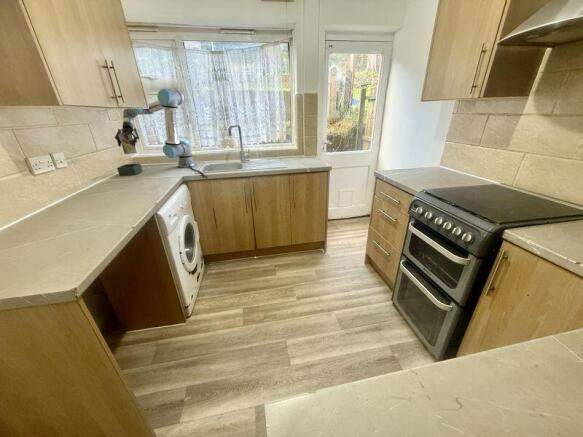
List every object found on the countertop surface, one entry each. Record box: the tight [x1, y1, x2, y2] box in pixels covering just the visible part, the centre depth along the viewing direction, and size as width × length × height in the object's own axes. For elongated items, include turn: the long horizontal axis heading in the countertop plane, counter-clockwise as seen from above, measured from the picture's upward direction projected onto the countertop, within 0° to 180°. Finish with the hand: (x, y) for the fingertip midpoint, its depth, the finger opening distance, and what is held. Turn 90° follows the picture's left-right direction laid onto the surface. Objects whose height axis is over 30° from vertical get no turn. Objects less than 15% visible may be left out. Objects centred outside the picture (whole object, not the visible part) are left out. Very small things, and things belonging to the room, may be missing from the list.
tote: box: [116, 163, 143, 177], centre depth 209 cm, size 15×13×7 cm
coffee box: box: [118, 133, 138, 155], centre depth 204 cm, size 9×6×16 cm
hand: (126, 145), depth 202 cm, fingers closed on coffee box, 11 cm apart
